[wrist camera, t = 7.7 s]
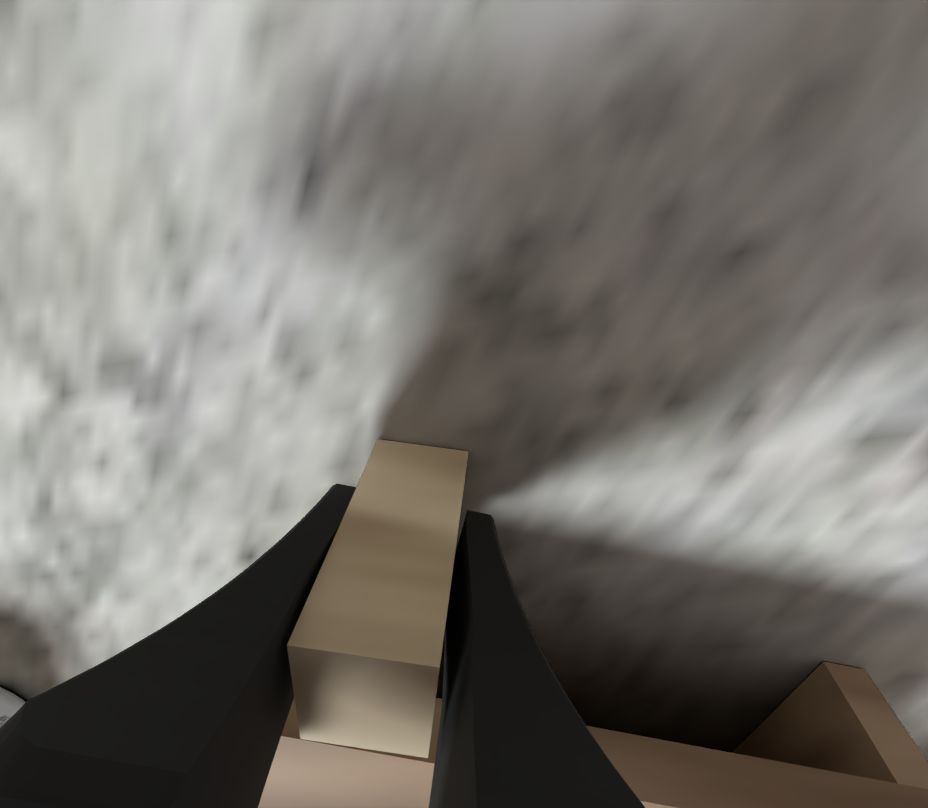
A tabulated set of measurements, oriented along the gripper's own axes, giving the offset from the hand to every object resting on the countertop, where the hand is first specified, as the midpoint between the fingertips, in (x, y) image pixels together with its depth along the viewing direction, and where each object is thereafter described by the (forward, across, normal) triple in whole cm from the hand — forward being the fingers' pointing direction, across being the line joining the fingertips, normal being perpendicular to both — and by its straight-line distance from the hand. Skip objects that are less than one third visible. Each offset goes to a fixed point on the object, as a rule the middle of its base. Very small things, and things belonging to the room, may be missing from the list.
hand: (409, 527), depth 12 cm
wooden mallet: (+2, 0, +5) cm, 5 cm away
